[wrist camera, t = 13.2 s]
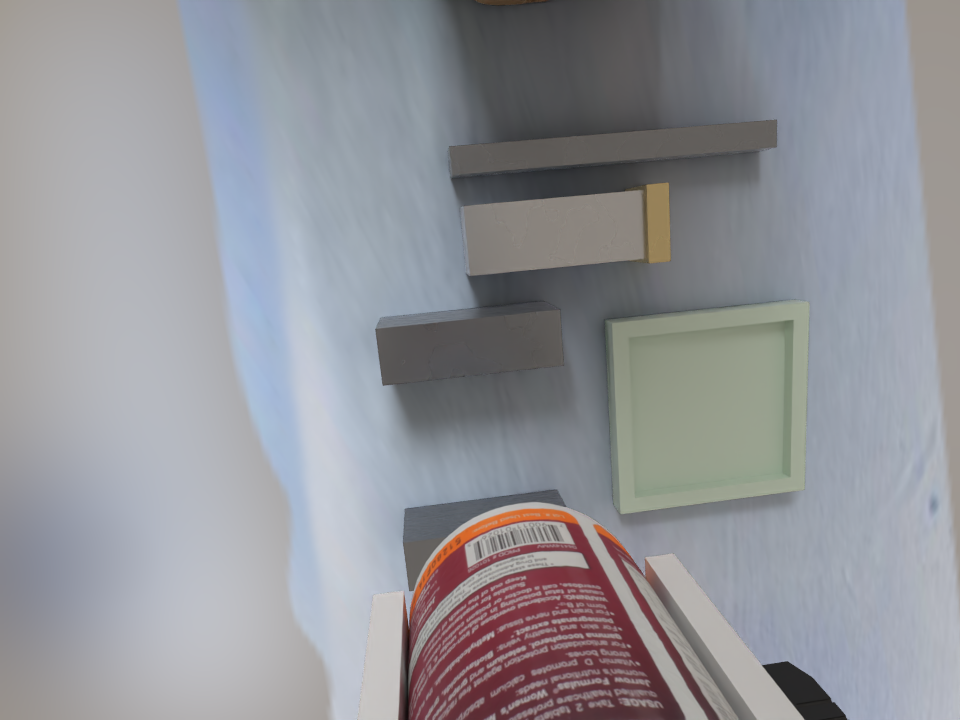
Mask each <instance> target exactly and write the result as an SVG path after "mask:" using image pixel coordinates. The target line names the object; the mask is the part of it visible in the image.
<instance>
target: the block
mask: <svg viewBox="0 0 960 720" xmlns="http://www.w3.org/2000/svg"><path fill="white" fill-rule="evenodd" d="M475 1H477V2H479V3H482V4H487V5H515V4H524V3H532V2H546V1H549V0H475Z"/></svg>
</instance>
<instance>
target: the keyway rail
mask: <svg viewBox="0 0 960 720" xmlns="http://www.w3.org/2000/svg"><path fill="white" fill-rule="evenodd" d="M776 147H777V120H766V121H754V122H742V123H730V124H718V125H705V126H693V127H681V128H669V129H657V130H644V131H632V132H620V133H608V134H595V135H583V136H571V137H559V138H547V139H534V140H522V141H510V142H498V143H486V144H473V145H461V146H449V149H448V159H449V169H450V178H458V177H470V176H482V175H493V174H505V173H516V172H528V171H540V170H551V169H563V168H575V167H586V166H598V165H609V164H621V163H633V162H644V161H656V160H668V159H679V158H691V157H702V156H714V155H726V154H737V153H749V152H759V151H763V150H767V149H771V148H776Z"/></svg>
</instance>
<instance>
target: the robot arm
mask: <svg viewBox="0 0 960 720" xmlns="http://www.w3.org/2000/svg"><path fill="white" fill-rule="evenodd" d="M645 572H646V580H647V581H648V582H649V584H650V585H651V587H652V588H653V590H654V591H655V593H656V595H657V596H658V598H659V599H660V601H661V602H662V603H663V605H664V607H665V608H666V610H667V611H668V613H669V614H670V616H671V617H672V619H673V620H674V622H675V623H676V625H677V626H678V628H679V629H680V631H681V632H682V634H683V635H684V637H685V638H686V640H687V641H688V643H689V644H690V646H691V647H692V649H693V650H694V652H695V653H696V655H697V656H698V658H699V660H700V661H701V663H702V664H703V666H704V667H705V669H706V670H707V672H708V673H709V675H710V676H711V678H712V679H713V681H714V682H715V684H716V685H717V687H718V688H719V690H720V691H721V693H722V694H723V696H724V697H725V699H726V700H727V702H728V703H729V705H730V706H731V708H732V709H733V711H734V713H735V714H736V716H737V717H738V719H739V720H847V718H846V715H845V714H844V713H843V712H842V711H841V709H840V708H839V707H838V706H837V705H836V704H835V703H834V702H833V703H832V701H831V698H830V697H829V696H828V695H827V694H826V692H825V691H824V690H823V689H822V688H821V687H820V686H819V684H818V683H817V682H816V681H815V680H814V679H813V678H812V677H811V676H809V675H808V674H806V673H805V672H803V671H802V670H800V669H798V668H797V667H795V666H794V665H792V664H791V663H789V662H788V661H787V662H780V663H774V664H767V665H761V664H760V662H759V661H758V660H757V659H756V657H755V656H754V655H753V654H752V652H751V651H750V650H749V649H748V647H747V646H746V645H745V643H744V642H743V641H742V640H741V638H740V637H739V636H738V635H737V633H736V632H735V631H734V629H733V628H732V627H731V626H730V624H729V623H728V622H727V621H726V619H725V618H724V617H723V616H722V614H721V613H720V612H719V610H718V609H717V608H716V607H715V605H714V604H713V603H712V602H711V600H710V599H709V598H708V596H707V595H706V594H705V593H704V591H703V590H702V589H701V588H700V586H699V585H698V584H697V583H696V581H695V580H694V579H693V577H692V576H691V575H690V574H689V572H688V571H687V570H686V569H685V567H684V566H683V565H682V563H681V562H680V561H679V560H678V558H677V557H676V556H675V555H674V553H672V554H665V555H658V556H651V557H645ZM408 662H409V626H408V619H407V611H406V603H405V596H404V591H397V592H390V593H383V594H375V595H373V600H372V608H371V616H370V624H369V632H368V640H367V648H366V655H365V663H364V671H363V679H362V687H361V695H360V703H359V710H358V718H357V720H408Z"/></svg>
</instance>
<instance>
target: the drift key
mask: <svg viewBox="0 0 960 720" xmlns="http://www.w3.org/2000/svg"><path fill="white" fill-rule="evenodd" d="M460 216H461V226H462V237H463V247H464V258H465V268H466V273H467V274H468V275H470V276H476V275H486V274H496V273H506V272H516V271H526V270H536V269H546V268H556V267H566V266H577V265H587V264H597V263H607V262H617V261H627V260H628V261H634V262H642V263H658V262H668V261H671V253H670V210H669V183H658V184H647V185H642V186H638V187H633V188H629V189H625V192H614V193H603V194H592V195H581V196H569V197H558V198H547V199H536V200H525V201H514V202H503V203H491V204H480V205H469V206H463V207H461V208H460Z"/></svg>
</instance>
